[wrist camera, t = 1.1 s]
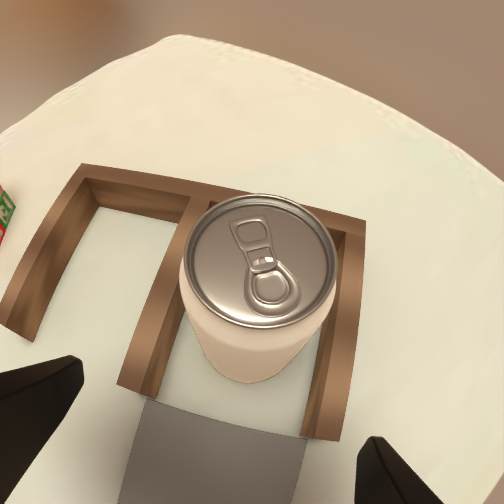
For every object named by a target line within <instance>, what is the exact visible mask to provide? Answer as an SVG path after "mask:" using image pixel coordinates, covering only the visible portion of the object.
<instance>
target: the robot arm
mask: <svg viewBox="0 0 504 504" xmlns="http://www.w3.org/2000/svg"><path fill="white" fill-rule="evenodd" d="M83 384H84V372H83V363H82V361H81V360H80V359H79V358H77V357H75V356H72V355H68V356H65V357H61V358H57V359H53V360H50V361H46V362H42V363H38V364H34V365H30V366H27V367H23V368H19V369H15V370H10V371H6V372H2V373H0V504H4V503H5V502H6V500H7V498H8V497H9V495H10V494H11V492H12V491H13V489H14V488H15V487H16V485H17V484H18V482H19V481H20V479H21V478H22V476H23V475H24V473H25V472H26V470H27V469H28V468H29V466H30V465H31V463H32V462H33V460H34V459H35V458H36V456H37V455H38V453H39V452H40V451H41V449H42V448H43V446H44V445H45V444H46V442H47V441H48V439H49V438H50V437H51V435H52V434H53V433H54V431H55V430H56V429H57V427H58V426H59V424H60V423H61V422H62V420H63V419H64V417H65V416H66V414H67V412H68V410H69V409H70V407H71V405H72V403H73V402H74V400H75V398H76V396H77V395H78V393H79V391H80V390H81V388H82V386H83ZM354 502H355V504H444V503H443V502H442V501H441V500H440V499H439V498H438V497H437V496H436V495H435V494H434V493H433V491H432V490H431V489H430V488H429V487H428V486H427V485H426V484H425V483H424V482H423V481H422V480H421V478H420V477H419V476H418V475H417V474H416V473H415V472H414V471H413V470H412V469H411V467H410V466H409V465H408V464H407V463H406V462H405V461H404V460H403V459H402V458H401V456H400V455H399V454H398V453H397V452H396V451H395V450H394V449H393V448H392V446H391V445H390V444H389V443H388V442H387V441H386V440H385V439H384V438H383V437H378V436H371V437H369V438H368V439H367V441H366V442H365V444H364V445H363V447H362V448H361V450H360V451H359V453H358V456H357V467H356V483H355V498H354Z"/></svg>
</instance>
